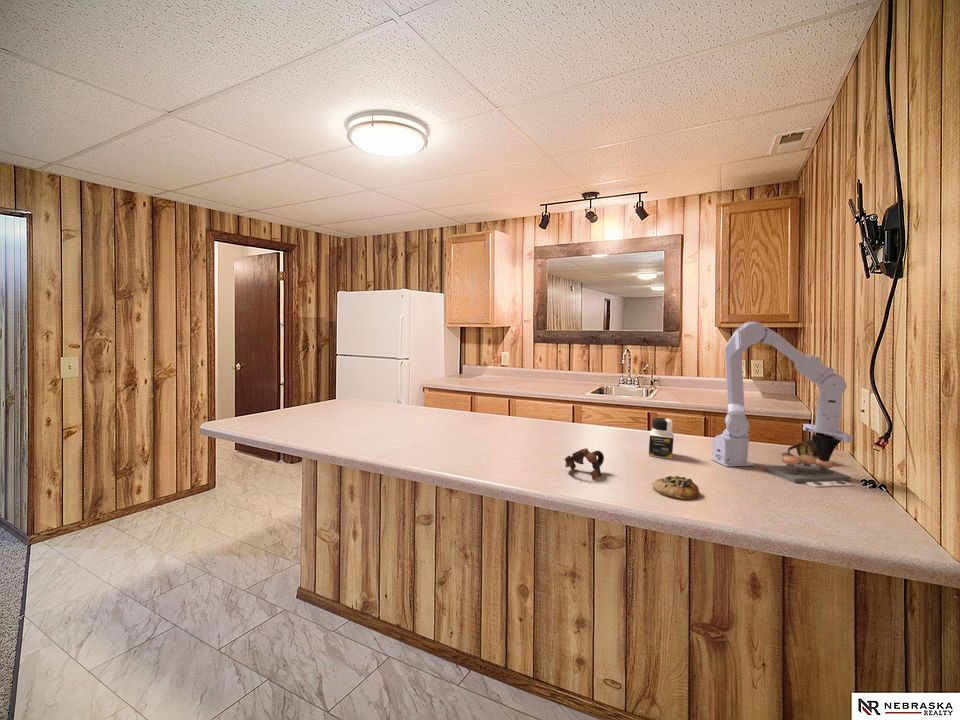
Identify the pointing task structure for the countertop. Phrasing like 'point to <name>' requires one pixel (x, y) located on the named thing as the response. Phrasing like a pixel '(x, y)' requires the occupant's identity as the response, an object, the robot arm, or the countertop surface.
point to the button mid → (807, 460)
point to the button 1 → (791, 460)
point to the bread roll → (676, 487)
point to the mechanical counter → (804, 449)
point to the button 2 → (823, 464)
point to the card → (829, 483)
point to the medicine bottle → (661, 438)
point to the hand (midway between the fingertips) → (823, 460)
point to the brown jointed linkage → (589, 456)
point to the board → (806, 473)
